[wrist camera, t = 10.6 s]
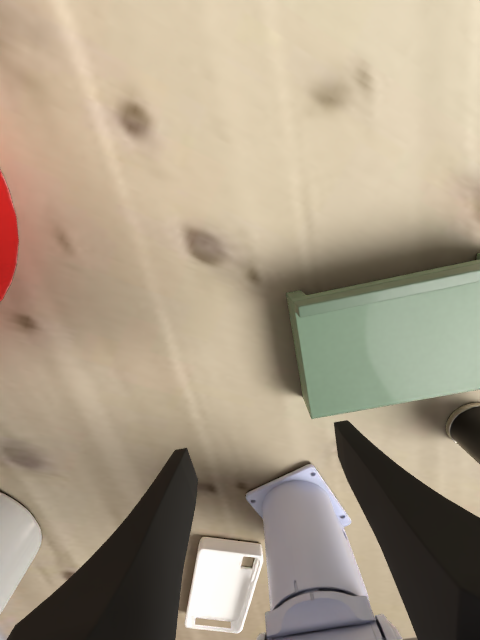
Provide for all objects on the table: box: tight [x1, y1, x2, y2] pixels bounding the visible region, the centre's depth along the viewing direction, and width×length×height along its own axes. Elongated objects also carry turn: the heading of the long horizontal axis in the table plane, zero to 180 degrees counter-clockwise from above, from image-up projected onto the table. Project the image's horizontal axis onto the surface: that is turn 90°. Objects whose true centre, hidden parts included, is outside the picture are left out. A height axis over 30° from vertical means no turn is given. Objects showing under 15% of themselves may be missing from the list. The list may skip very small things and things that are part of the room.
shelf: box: [286, 253, 480, 419], centre depth 19 cm, size 10×16×4 cm, turn 102°
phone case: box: [185, 537, 263, 633], centre depth 30 cm, size 7×1×15 cm
